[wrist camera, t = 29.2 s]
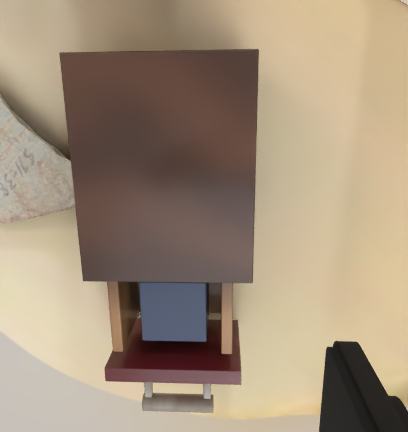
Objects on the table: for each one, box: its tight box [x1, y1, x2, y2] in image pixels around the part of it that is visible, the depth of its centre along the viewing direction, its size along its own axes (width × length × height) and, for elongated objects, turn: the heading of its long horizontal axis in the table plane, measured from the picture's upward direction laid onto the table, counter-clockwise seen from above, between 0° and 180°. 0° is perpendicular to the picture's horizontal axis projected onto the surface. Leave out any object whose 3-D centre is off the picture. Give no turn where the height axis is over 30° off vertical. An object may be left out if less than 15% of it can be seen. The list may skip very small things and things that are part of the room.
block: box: [139, 282, 209, 342], centre depth 32 cm, size 5×5×5 cm
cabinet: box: [60, 49, 259, 283], centre depth 29 cm, size 15×12×9 cm
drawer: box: [105, 281, 241, 413], centre depth 32 cm, size 18×10×7 cm, turn 1°
